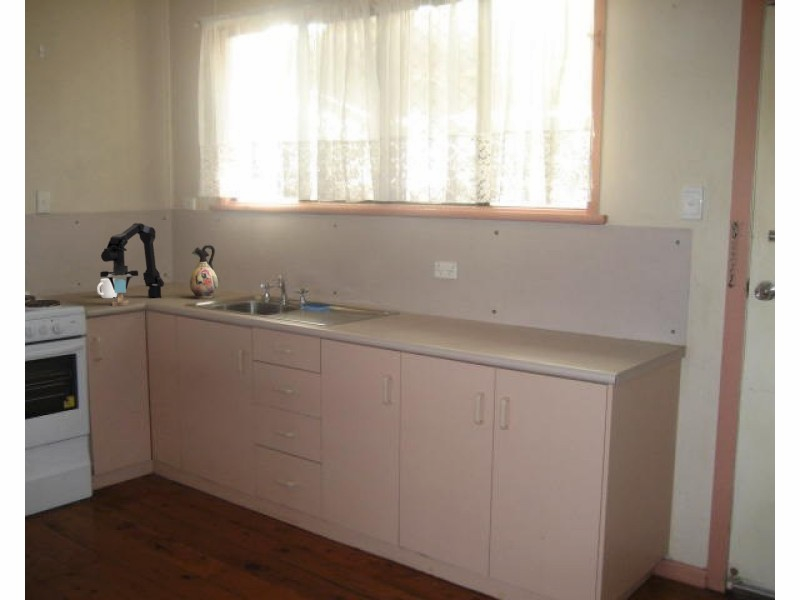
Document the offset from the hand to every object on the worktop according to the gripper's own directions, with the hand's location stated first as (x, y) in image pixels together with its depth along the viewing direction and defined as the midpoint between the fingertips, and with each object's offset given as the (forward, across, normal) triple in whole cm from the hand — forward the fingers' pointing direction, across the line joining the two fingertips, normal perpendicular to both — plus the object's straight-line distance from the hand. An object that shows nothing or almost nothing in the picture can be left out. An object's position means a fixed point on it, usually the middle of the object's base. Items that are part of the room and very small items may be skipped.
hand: (120, 289), depth 420 cm
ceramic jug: (+8, +45, +14) cm, 48 cm away
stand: (+8, 0, 0) cm, 8 cm away
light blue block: (+1, 0, 0) cm, 1 cm away
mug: (+8, -8, +30) cm, 32 cm away
